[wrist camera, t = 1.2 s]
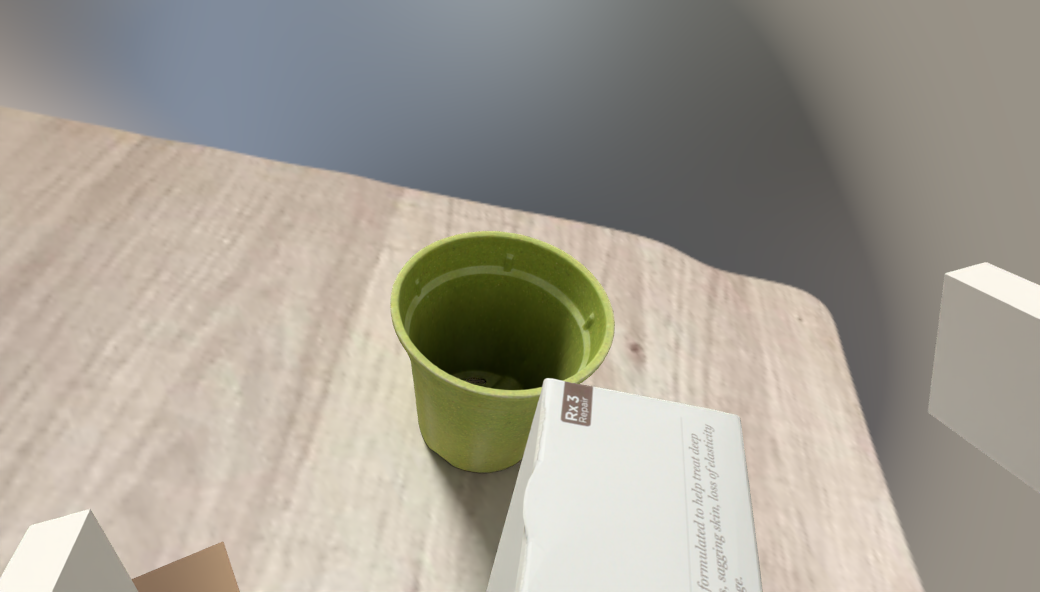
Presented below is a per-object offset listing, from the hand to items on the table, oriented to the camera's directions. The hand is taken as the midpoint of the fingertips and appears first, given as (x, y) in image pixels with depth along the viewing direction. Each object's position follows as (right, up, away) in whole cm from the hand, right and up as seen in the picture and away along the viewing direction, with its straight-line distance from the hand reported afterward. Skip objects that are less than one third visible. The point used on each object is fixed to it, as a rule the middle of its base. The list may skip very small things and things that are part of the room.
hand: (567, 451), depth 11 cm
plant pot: (-3, -4, +25) cm, 25 cm away
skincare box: (0, -13, +16) cm, 21 cm away
